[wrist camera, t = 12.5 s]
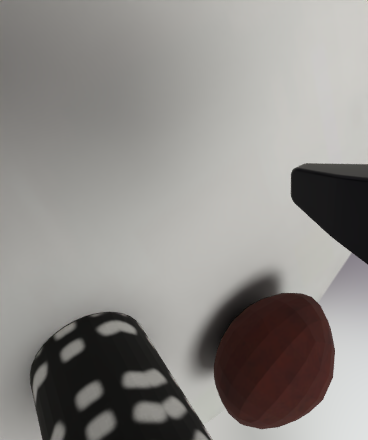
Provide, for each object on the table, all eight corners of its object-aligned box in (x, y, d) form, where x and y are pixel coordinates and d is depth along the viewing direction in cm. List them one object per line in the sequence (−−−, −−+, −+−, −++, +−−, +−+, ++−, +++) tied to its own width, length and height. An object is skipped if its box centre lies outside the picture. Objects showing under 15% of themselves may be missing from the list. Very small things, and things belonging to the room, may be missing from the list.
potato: (173, 365, 30) (238, 465, 23) (254, 255, 30) (347, 324, 23) (227, 378, 36) (293, 462, 29) (297, 286, 35) (382, 348, 28)
